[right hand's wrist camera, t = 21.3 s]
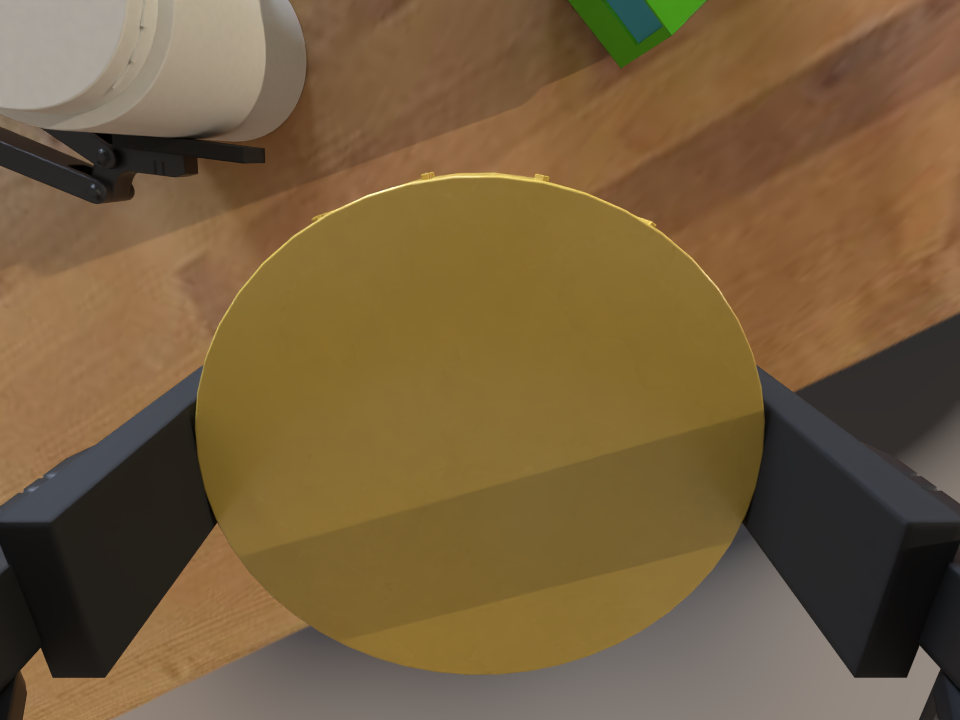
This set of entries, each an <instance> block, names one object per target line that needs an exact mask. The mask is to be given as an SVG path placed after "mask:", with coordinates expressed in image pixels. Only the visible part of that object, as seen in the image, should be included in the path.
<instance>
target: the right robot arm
mask: <svg viewBox="0 0 960 720" xmlns="http://www.w3.org/2000/svg"><path fill="white" fill-rule="evenodd" d="M203 366H204V365H203ZM203 366H201V367H200V368H199V369H197V370H196V371H195V372H193V373H192V374H190V375H189V376H188V377H186V378H185V379H184V380H182V381H181V382H180V383H178V384H177V385H176V386H174V387H173V388H172V389H170V390H169V391H168V392H166V393H165V394H164V395H162V396H161V397H159V398H158V399H157V400H155V401H154V402H153V403H151V404H150V405H149V406H147V407H146V408H145V409H143V410H142V411H141V412H139V413H138V414H137V415H135V416H134V417H132V418H131V419H130V420H128V421H127V422H126V423H124V424H123V425H122V426H120V427H119V428H118V429H116V430H115V431H114V432H112V433H111V434H110V435H108V436H107V437H106V438H104V439H103V440H101V441H100V442H99V443H97V444H96V445H94V446H92V447H90V448H88V449H85V450H83V451H81V452H79V453H77V454H75V455H73V456H71V457H68V458H66V459H65V460H64V461H62V462H61V463H59V464H58V465H57V466H55V467H54V468H53V469H51V470H50V471H48V472H47V473H46V474H44V475H43V476H44V477H43V478H39V479H37V480H36V481H35V482H33V483H32V484H30V485H29V486H28V487H26V488H25V489H24V492H23V493H18V494H17V495H15V496H14V497H12V498H11V499H10V500H8V501H7V502H5V503H4V504H3V505H1V506H0V720H23V714H24V708H25V702H26V696H27V691H26V685H25V681H24V678H23V676H22V674H21V671H20V670H21V669H22V668H23V667H24V666H25V664H26V663H27V662H28V661H29V660H30V659H31V658H32V657H33V656H34V654H35V653H36V652H37V651H38V650H39V649H40V648H41V649H42V652H43V654H44V657H45V659H46V662H47V664H48V667H49V669H50V672H51V675H52V677H53V678H105V677H106V676H107V674H108V673H109V672H110V670H111V669H112V667H113V666H114V665H115V663H116V662H117V660H118V659H119V658H120V656H121V655H122V654H123V652H124V651H125V649H126V648H127V647H128V645H129V644H130V643H131V641H132V640H133V638H134V637H135V636H136V634H137V633H138V631H139V630H140V629H141V627H142V626H143V625H144V623H145V622H146V620H147V619H148V618H149V616H150V615H151V613H152V612H153V611H154V609H155V608H156V607H157V605H158V604H159V602H160V601H161V600H162V598H163V597H164V596H165V594H166V593H167V591H168V590H169V589H170V587H171V586H172V584H173V583H174V582H175V580H176V579H177V578H178V576H179V575H180V573H181V572H182V571H183V569H184V568H185V567H186V565H187V564H188V562H189V561H190V560H191V558H192V557H193V555H194V554H195V553H196V551H197V550H198V549H199V547H200V546H201V544H202V543H203V542H204V540H205V539H206V537H207V536H208V535H209V533H210V532H211V531H212V529H213V528H214V526H215V525H216V524H217V521H216V518H215V516H214V513H213V511H212V508H211V505H210V503H209V500H208V498H207V495H206V492H205V489H204V485H203V480H202V476H201V471H200V467H199V462H198V457H197V446H196V434H195V418H196V404H197V392H198V387H199V383H200V379H201V375H202V370H203ZM756 367H757V371H758V375H759V379H760V383H761V387H762V396H763V407H764V417H765V428H764V446H763V455H762V460H761V464H760V469H759V474H758V478H757V483H756V487H755V491H754V494H753V497H752V499H751V502H750V505H749V508H748V511H747V513H746V516H745V518H744V520H743V522H742V523H743V524H744V525H745V527H746V528H747V530H748V531H749V532H750V534H751V535H752V537H753V538H754V539H755V541H756V542H757V544H758V545H759V546H760V548H761V549H762V550H763V552H764V553H765V555H766V556H767V557H768V559H769V560H770V561H771V563H772V564H773V566H774V567H775V568H776V570H777V571H778V573H779V574H780V575H781V577H782V578H783V579H784V581H785V582H786V584H787V585H788V586H789V588H790V589H791V591H792V592H793V593H794V595H795V596H796V597H797V599H798V600H799V601H800V603H801V604H802V606H803V607H804V608H805V610H806V611H807V613H808V614H809V615H810V617H811V618H812V619H813V621H814V622H815V624H816V625H817V626H818V628H819V629H820V631H821V632H822V633H823V635H824V636H825V637H826V639H827V640H828V642H829V643H830V644H831V646H832V647H833V648H834V650H835V651H836V653H837V654H838V655H839V657H840V658H841V660H842V661H843V662H844V664H845V665H846V667H847V668H848V669H849V671H850V672H851V673H852V675H853V676H854V677H855V678H907V676H908V673H909V671H910V668H911V666H912V663H913V661H914V658H915V656H916V653H917V651H918V648H919V645H920V646H921V647H922V648H923V649H924V651H925V652H926V653H927V654H928V655H929V656H930V657H931V658H932V659H933V661H934V662H935V663H936V664H937V665H938V666H939V667H940V668H941V669H940V672H939V674H938V676H937V678H936V681H935V683H934V686H933V688H932V690H931V693H930V695H929V697H928V700H927V702H926V704H925V707H924V709H923V712H922V714H921V716H920V719H919V720H960V504H959V503H958V502H957V501H955V500H954V499H952V498H951V497H950V496H948V495H947V494H945V493H944V492H943V491H937V489H936V486H934V485H933V484H931V483H930V482H929V481H927V480H926V479H925V478H923V477H922V476H917V473H916V472H915V471H913V470H912V469H911V468H909V467H908V466H906V465H905V464H904V463H902V462H901V461H899V460H898V459H897V458H895V457H894V456H892V455H890V454H887V453H885V452H883V451H881V450H879V449H877V448H875V447H872V446H870V445H868V444H866V443H864V442H859V441H858V440H857V439H855V438H854V437H853V436H851V435H850V434H849V433H847V432H846V431H845V430H843V429H842V428H841V427H839V426H838V425H836V424H835V423H834V422H832V421H831V420H830V419H828V418H827V417H826V416H824V415H823V414H822V413H820V412H819V411H818V410H816V409H815V408H813V407H812V406H811V405H810V404H808V403H807V402H806V401H804V400H803V399H801V398H800V397H799V396H797V395H796V394H795V393H793V392H792V391H791V390H789V389H788V388H787V387H785V386H784V385H783V384H781V383H780V382H779V381H777V380H776V379H775V378H773V377H772V376H770V375H769V374H768V373H766V372H765V371H764V370H762V369H761V368H760V367H758V366H757V365H756Z"/></svg>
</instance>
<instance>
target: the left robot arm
mask: <svg viewBox="0 0 960 720" xmlns="http://www.w3.org/2000/svg"><path fill="white" fill-rule="evenodd" d="M42 129H43V130H45V131H46V132H48V133H49V134H50V135H52V136H53V137H55V138H56V139H58V140H59V141H61V142H62V143H64V144H65V145H67V146H68V147H70V148H71V149H73V150H74V151H76V152H77V153H79V154H80V155H82V156H83V157H84V158H86V159H87V160H89V161H90V162H92V163H93V164H94V166H93V165H91V164H88V163H86V162H84V161H81V160H79V159H76V158H74V157H72V156H69V155H67V154H64V153H62V152H60V151H57V150H55V149H52V148H50V147H48V146H45V145H43V144H40V143H38V142H36V141H33V140H31V139H28V138H26V137H24V136H21V135H19V134H16V133H14V132H12V131H9V130H7V129H4V128H1V127H0V166H3V167H5V168H8V169H10V170H13V171H15V172H17V173H20V174H22V175H25V176H27V177H30V178H32V179H35V180H37V181H40V182H42V183H45V184H47V185H49V186H52V187H54V188H57V189H59V190H62V191H64V192H67V193H69V194H72V195H74V196H77V197H79V198H81V199H84V200H86V201H89V202H91V203H95V204H101V203H109V202H118V201H126V200H130V199H131V198H133V196H134V187H133V185H132V181H133V178H134V176H135V174H136V173H146V174H154V175H161V176H169V177H187V176H192V175H196V174H198V163H197V157H198V158H205V159H213V160H221V161H229V162H237V163H244V164H246V163H265V149H264V148H257V147H249V146H241V145H234V144H226V143H218V142H210V141H203V140H195V139H185V138H170V137H155V136H140V135H124V134H109V133H94V132H79V131H64V130H53V129H44V128H42Z"/></svg>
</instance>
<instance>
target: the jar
mask: <svg viewBox="0 0 960 720" xmlns="http://www.w3.org/2000/svg"><path fill="white" fill-rule="evenodd" d="M306 66H307V65H306V48H305V41H304V37H303V33H302V29H301V26H300V23H299V21H298V18H297V15H296V13H295V12H294V10H293V8H292V6H291V4H290V2H289V1H288V0H0V114H2V115H4V116H6V117H8V118H10V119H13V120H16V121H19V122H21V123H24V124H27V125H31V126H35V127H40V128H44V129H53V130H64V131H79V132H94V133H109V134H124V135H140V136H155V137H170V138H185V139H201V140H216V141H231V142H239V141H248V140H253V139H257V138H259V137H262V136H265V135H267V134H268V133H270V132H272V131H274V130H275V129H276V128H278V127H279V126H280V125H281V124H282V123H283V122H284V121H285V120H286V119H287V118H288V117H289V115H290V114H291V113H292V111H293V110H294V108H295V106H296V104H297V103H298V101H299V98H300V96H301V93H302V90H303V86H304V82H305V77H306Z"/></svg>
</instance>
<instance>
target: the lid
mask: <svg viewBox="0 0 960 720" xmlns="http://www.w3.org/2000/svg"><path fill="white" fill-rule="evenodd" d="M421 178H422V179H419V180H416V181H413V182H409V183H406V184H403V185H399V186H396V187H392V188H389V189H386V190H383V191H379V192H376V193H373V194H370V195H367V196H365V197H362V198H360V199H358V200H356V201H354V202H352V203H349V204H347V205H345V206H343V207H341V208H339V209H336V210H333V211H330V212H327V213H324V214H321V215H319V216H316V217H314V218H313V219H312V221H313V223H312V224H311V225H309V226H308V227H306V228H305V229H303V230H302V231H300V232H299V233H297V234H296V235H294V236H293V237H292V238H290V239H289V240H288V241H287V242H286V243H285V244H284V245H282V246H281V247H280V248H279V249H278V250H277V251H276V252H275V253H273V254H272V255H271V256H270V257H269V258H268V259H267V260H266V261H264V262H263V263H262V265H261V266H260V267H259V268H258V269H257V271H256V272H255V273H254V274H253V275H252V277H251V278H250V279H249V280H248V281H247V283H246V284H245V285H244V286H243V287H242V289H241V290H240V291H239V292H238V294H237V295H236V297H235V299H234V300H233V302H232V304H231V305H230V307H229V309H228V310H227V312H226V314H225V315H224V317H223V319H222V320H221V322H220V324H219V326H218V328H217V330H216V333H215V335H214V338H213V340H212V343H211V345H210V348H209V350H208V353H207V355H206V358H205V362H204V366H203V370H202V375H201V379H200V383H199V387H198V392H197V404H196V418H195V434H196V446H197V457H198V462H199V467H200V471H201V476H202V480H203V485H204V489H205V492H206V495H207V498H208V500H209V503H210V505H211V508H212V511H213V513H214V516H215V518H216V521H217V522H218V524H219V526H220V528H221V530H222V531H223V533H224V535H225V537H226V539H227V541H228V542H229V544H230V546H231V548H232V549H233V550H234V552H235V553H236V555H237V556H238V557H239V559H240V560H241V561H242V563H243V564H244V565H245V567H246V568H247V570H248V571H249V572H250V573H251V574H252V576H253V577H254V578H255V579H256V580H257V581H258V582H259V583H260V584H261V585H262V586H263V587H264V588H265V589H266V590H267V591H268V593H269V594H270V595H271V596H273V597H274V598H275V599H276V600H277V601H279V602H280V603H281V604H282V605H283V606H284V607H286V608H287V609H288V610H289V611H290V612H292V613H293V614H294V615H295V616H297V617H298V618H300V619H301V620H303V621H304V622H306V623H307V624H309V625H310V626H312V627H313V628H315V629H316V630H318V631H319V632H321V633H323V634H325V635H327V636H329V637H331V638H332V639H334V640H336V641H338V642H340V643H342V644H344V645H346V646H348V647H350V648H353V649H355V650H358V651H361V652H363V653H365V654H368V655H370V656H373V657H376V658H379V659H382V660H386V661H389V662H392V663H396V664H399V665H403V666H407V667H412V668H417V669H423V670H428V671H434V672H443V673H454V674H465V675H487V674H507V673H516V672H526V671H532V670H537V669H542V668H547V667H552V666H557V665H561V664H564V663H567V662H571V661H574V660H577V659H580V658H584V657H587V656H590V655H592V654H595V653H597V652H599V651H602V650H604V649H607V648H609V647H611V646H614V645H616V644H618V643H620V642H622V641H624V640H625V639H627V638H629V637H631V636H633V635H635V634H636V633H638V632H640V631H642V630H644V629H645V628H647V627H648V626H650V625H651V624H652V623H654V622H655V621H657V620H658V619H660V618H661V617H663V616H664V615H665V614H667V613H668V612H670V611H671V610H672V609H673V608H674V607H675V606H676V605H678V604H679V603H680V602H681V601H682V600H683V599H685V598H686V597H687V596H688V595H689V594H690V593H691V592H692V591H693V590H694V589H695V588H696V587H697V586H698V585H699V584H700V583H701V582H702V580H703V579H704V578H705V577H706V576H707V575H708V574H709V573H710V572H711V571H712V569H713V568H714V567H715V565H716V564H717V563H718V561H719V560H720V558H721V557H722V555H723V554H724V553H725V551H726V550H727V548H728V547H729V545H730V544H731V543H732V541H733V539H734V537H735V535H736V533H737V531H738V529H739V527H740V525H741V523H742V522H743V520H744V518H745V516H746V513H747V511H748V508H749V505H750V502H751V499H752V497H753V494H754V491H755V487H756V483H757V478H758V474H759V469H760V464H761V460H762V455H763V446H764V428H765V417H764V407H763V396H762V387H761V383H760V379H759V375H758V371H757V367H756V363H755V359H754V356H753V352H752V350H751V347H750V345H749V343H748V340H747V338H746V336H745V334H744V331H743V329H742V327H741V324H740V322H739V320H738V318H737V316H736V315H735V313H734V312H733V310H732V309H731V307H730V305H729V304H728V302H727V301H726V299H725V298H724V296H723V294H722V293H721V291H720V290H719V288H718V287H717V286H716V285H715V283H714V282H713V281H712V280H711V279H710V278H709V277H708V275H707V274H706V273H705V272H704V271H703V270H702V269H701V267H700V266H699V265H698V264H697V263H696V262H695V261H694V259H693V258H692V257H690V256H689V255H688V254H687V253H686V252H684V251H683V250H682V249H681V248H680V247H679V246H677V245H676V244H675V243H674V242H673V241H671V240H670V239H669V238H668V237H667V236H665V235H664V234H663V233H662V232H660V231H659V230H657V229H656V228H655V227H656V224H654V223H653V222H651V221H648V220H645V219H642V218H640V217H637V216H635V215H633V214H631V213H630V212H628V211H626V210H624V209H622V208H620V207H618V206H615V205H613V204H611V203H608V202H606V201H604V200H601V199H599V198H597V197H594V196H592V195H590V194H588V193H585V192H582V191H578V190H575V189H572V188H569V187H565V186H561V185H558V184H554V183H550V182H549V177H548V176H544V175H540V174H535V177H534V178H532V177H524V176H516V175H508V174H501V173H457V174H450V175H444V176H437V177H435V175H434V172H430V173H426V174H422V175H421Z"/></svg>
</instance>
